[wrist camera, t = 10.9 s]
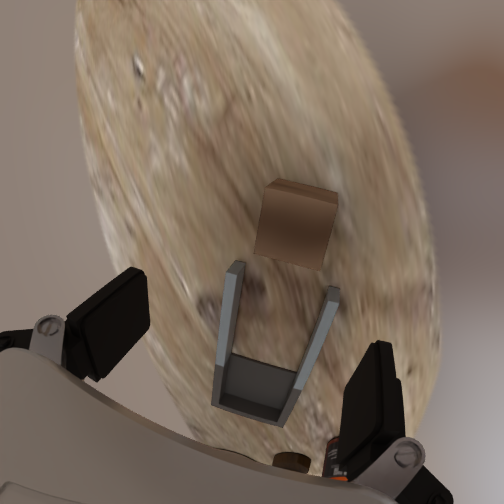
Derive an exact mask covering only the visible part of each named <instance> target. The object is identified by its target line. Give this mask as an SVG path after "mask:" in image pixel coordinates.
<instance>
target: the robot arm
mask: <svg viewBox="0 0 504 504" xmlns="http://www.w3.org/2000/svg"><path fill="white" fill-rule="evenodd" d="M66 317H67V320H66V321H65V322H64V320H63V319H62V318H61V317H60V316H57V315H47V316H44V317H42V318H41V319H39V320H38V321H37V322H36V324H35V326H34V329H26V330H14V331H4V332H1V333H0V504H453V496H452V494H451V493H450V491H449V490H448V489H447V488H445V486H444V485H443V484H442V483H441V482H439V481H438V479H436V478H435V476H434V475H432V474H431V473H430V472H429V470H428V469H426V467H425V466H424V465H423V464H424V462H425V450H424V448H423V446H422V445H421V444H420V443H419V441H417V440H415V439H414V438H410V437H406V435H405V418H404V406H403V395H402V386H401V381H400V379H398V378H396V371H395V363H394V356H393V349H392V344H391V343H389V342H385V341H380V340H377V341H376V342H375V343H371V344H370V345H369V347H368V349H367V351H366V353H365V355H364V356H363V358H362V360H361V362H360V363H359V365H358V367H357V368H356V370H355V372H354V373H353V375H352V377H351V378H350V380H349V382H348V383H347V385H346V387H345V390H344V395H343V406H342V416H341V426H340V434H339V442H338V449H337V456H336V464H339V470H338V471H340V472H347V474H346V478H347V479H348V480H346V481H341V480H335V479H330V478H325V477H320V476H314V475H309V474H304V473H299V472H295V471H290V470H286V469H282V468H278V467H274V466H270V465H266V464H262V463H259V462H255V461H253V460H251V459H249V458H247V457H245V456H243V455H240V454H237V453H234V452H230V451H226V450H220V449H215V448H213V447H210V446H207V445H205V444H202V443H200V442H197V441H195V440H192V439H190V438H187V437H185V436H183V435H180V434H178V433H176V432H174V431H171V430H169V429H167V428H165V427H163V426H161V425H159V424H157V423H154V422H152V421H151V420H149V419H147V418H145V417H142V416H141V415H139V414H137V413H135V412H133V411H131V410H130V409H128V408H126V407H124V406H122V405H120V404H119V403H117V402H115V401H114V400H112V399H110V398H109V397H107V396H105V395H104V394H102V393H101V392H99V391H97V390H96V389H94V388H93V387H91V386H90V385H88V384H87V383H85V382H84V378H85V377H86V376H88V377H89V378H91V379H92V380H94V381H95V382H98V381H99V380H100V379H101V378H105V377H106V376H107V375H108V374H109V373H110V371H111V370H112V369H113V368H114V367H115V366H116V365H117V364H118V363H119V361H120V360H121V359H122V358H123V357H124V356H125V355H126V354H127V353H128V351H129V350H130V349H131V348H132V347H133V346H134V345H135V343H137V341H138V340H139V339H140V338H141V337H142V336H143V335H144V334H145V333H146V332H147V330H148V329H149V327H150V314H149V302H148V287H147V277H146V275H145V274H144V271H142V270H140V269H137V268H134V267H129V268H128V269H127V270H125V271H124V272H122V273H121V274H120V275H118V276H117V277H116V278H114V279H113V280H112V281H110V282H109V283H108V284H106V285H105V286H104V287H103V288H101V289H100V290H99V291H97V292H96V293H95V294H93V295H92V296H91V297H90V298H88V299H87V300H86V301H84V302H83V303H82V304H81V305H79V306H78V307H77V308H76V309H74V310H73V311H72V312H70V313H69V314H68V315H67V316H66Z"/></svg>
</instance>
